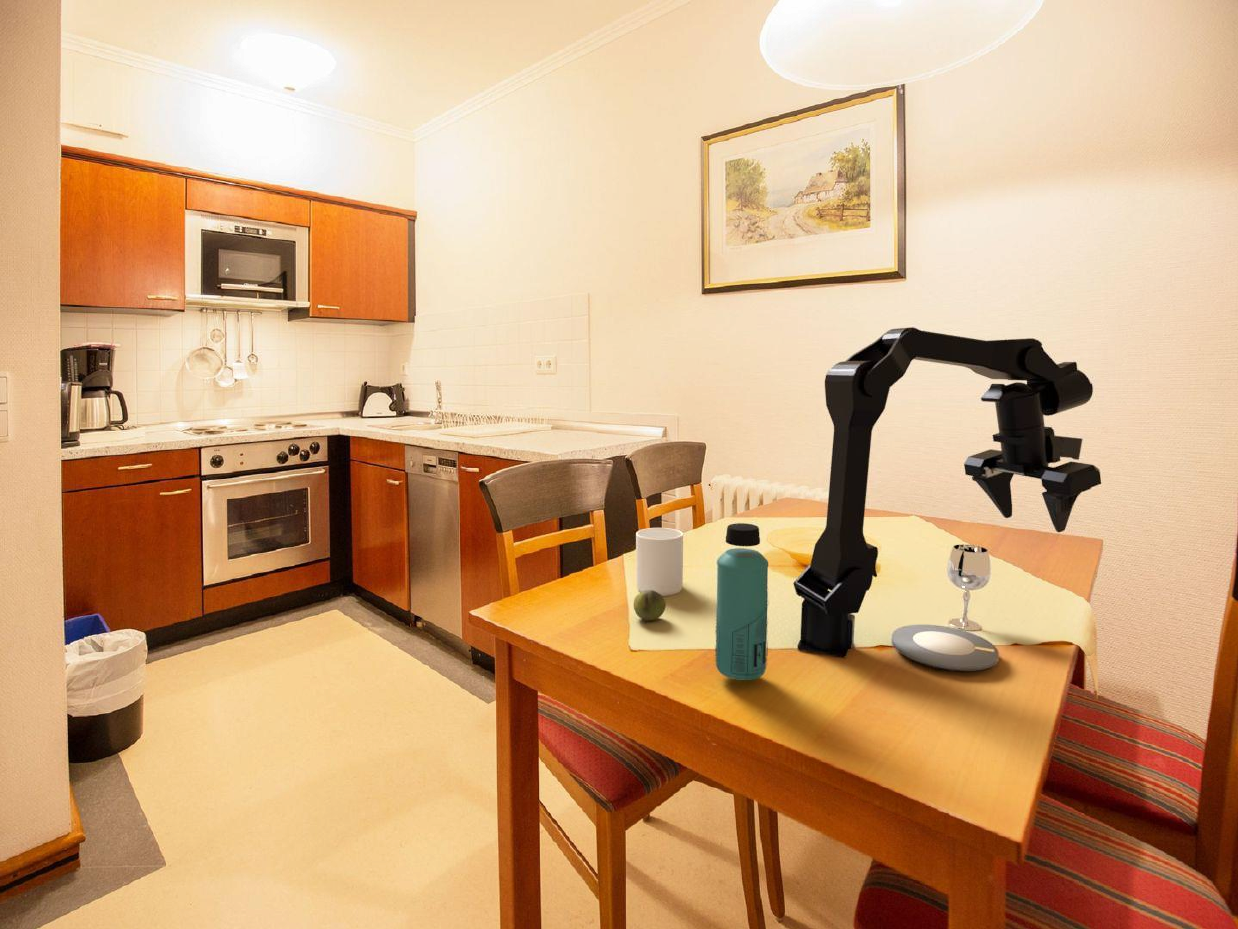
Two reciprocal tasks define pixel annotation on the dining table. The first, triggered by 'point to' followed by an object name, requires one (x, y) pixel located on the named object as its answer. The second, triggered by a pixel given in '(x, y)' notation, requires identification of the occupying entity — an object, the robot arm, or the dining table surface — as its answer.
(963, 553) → the wineglass
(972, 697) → the dining table surface
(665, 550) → the cup
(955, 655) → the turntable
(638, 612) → the lime
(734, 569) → the beverage bottle
